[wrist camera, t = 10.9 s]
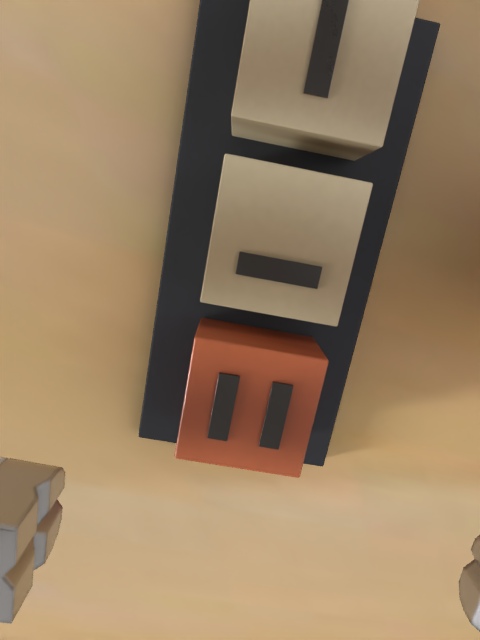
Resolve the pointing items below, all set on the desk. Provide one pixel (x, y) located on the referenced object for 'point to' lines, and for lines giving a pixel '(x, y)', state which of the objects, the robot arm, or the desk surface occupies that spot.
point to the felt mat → (199, 208)
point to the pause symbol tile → (250, 398)
